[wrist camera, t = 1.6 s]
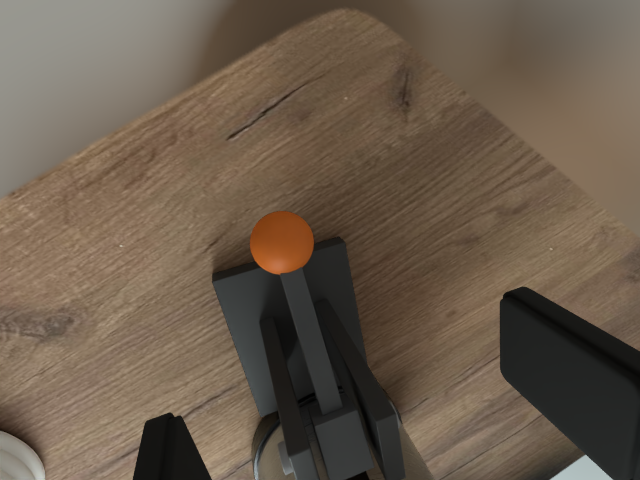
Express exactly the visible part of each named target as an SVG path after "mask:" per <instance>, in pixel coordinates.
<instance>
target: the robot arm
mask: <svg viewBox="0 0 640 480" xmlns="http://www.w3.org/2000/svg"><path fill="white" fill-rule="evenodd" d="M500 370H501V373H502V375H503V377H504V378H505V380H506V381H507V382H508V383H509V384H511V385H512V386H513V387H514V388H515V389H516V390H517V391H518V392H519V393H520V394H521V395H522V396H523V397H525V398H526V399H527V400H528V401H529V402H530V403H531V404H532V405H533V406H534V407H535V408H536V409H537V410H539V411H540V412H541V413H542V414H543V415H544V416H545V417H546V418H547V419H548V420H549V421H550V422H551V423H553V424H554V425H555V426H556V427H557V428H558V429H559V430H560V431H561V432H562V433H563V434H564V435H565V436H567V437H568V438H569V439H570V440H571V441H572V442H573V443H574V444H575V445H576V446H577V447H578V448H579V449H581V450H582V451H583V452H584V453H585V454H586V455H587V456H588V457H589V458H590V459H591V460H592V461H593V462H595V463H596V464H597V465H598V466H599V467H600V468H601V469H602V470H603V471H604V472H605V473H606V474H608V475H609V476H610V477H611V478H612V479H613V480H640V351H638V350H636V349H635V348H633V347H631V346H629V345H628V344H626V343H624V342H622V341H621V340H619V339H617V338H615V337H614V336H612V335H610V334H608V333H607V332H605V331H603V330H601V329H600V328H598V327H596V326H594V325H593V324H591V323H589V322H587V321H586V320H584V319H582V318H580V317H579V316H577V315H575V314H573V313H572V312H570V311H568V310H566V309H564V308H563V307H561V306H559V305H557V304H556V303H554V302H552V301H550V300H549V299H547V298H545V297H543V296H542V295H540V294H538V293H536V292H535V291H533V290H531V289H529V288H527V287H520V288H517V289H514V290H511V291H509V292H506V293H505V294H504V295H503V299H502V300H501V301H500ZM133 480H212V479H211V477H210V475H209V473H208V471H207V468H206V466H205V464H204V462H203V460H202V458H201V456H200V454H199V452H198V450H197V447H196V445H195V443H194V441H193V439H192V437H191V435H190V433H189V431H188V429H187V427H186V424H185V422H184V420H183V418H182V417H181V416H177V417H174V415H173V414H172V413H167V414H164V415H161V416H159V417H156V418H153V419H150V420H147V421H146V423H145V425H144V430H143V434H142V439H141V443H140V448H139V453H138V457H137V462H136V467H135V471H134V476H133Z"/></svg>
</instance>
